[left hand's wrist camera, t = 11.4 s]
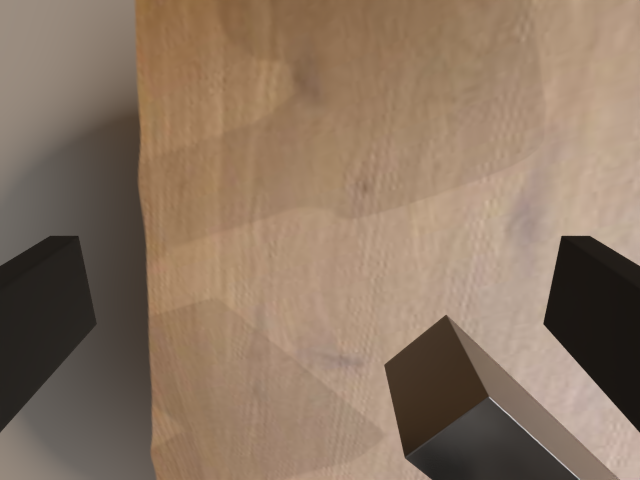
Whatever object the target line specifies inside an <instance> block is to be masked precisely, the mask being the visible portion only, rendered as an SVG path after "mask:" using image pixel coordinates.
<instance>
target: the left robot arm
mask: <svg viewBox="0 0 640 480" xmlns="http://www.w3.org/2000/svg"><path fill="white" fill-rule="evenodd" d="M543 324H544V325H545V326H546V328H547V329H548V330H549V331H550V332H551V333H552V334H553V335H554V337H555V338H556V339H557V340H558V341H559V342H560V343H561V344H562V346H563V347H564V348H565V349H566V350H567V351H568V352H569V353H570V355H571V356H572V357H573V358H574V359H575V360H576V361H577V362H578V364H579V365H580V366H581V367H582V368H583V369H584V370H585V371H586V373H587V374H588V375H589V376H590V377H591V378H592V379H593V380H594V382H595V383H596V384H597V385H598V386H599V387H600V388H601V389H602V391H603V392H604V393H605V394H606V395H607V396H608V397H609V398H610V400H611V401H612V402H613V403H614V404H615V405H616V406H617V407H618V409H619V410H620V411H621V412H622V413H623V414H624V415H625V416H626V418H627V419H628V420H629V421H630V422H631V423H632V424H633V425H634V427H635V428H636V429H637V430H638V431H639V432H640V266H639V265H637V264H635V263H634V262H632V261H630V260H629V259H627V258H625V257H624V256H622V255H620V254H619V253H617V252H616V251H614V250H612V249H611V248H609V247H607V246H606V245H604V244H602V243H601V242H599V241H597V240H596V239H594V238H592V237H591V236H561V241H560V246H559V251H558V256H557V261H556V265H555V270H554V275H553V280H552V285H551V290H550V294H549V299H548V304H547V309H546V314H545V319H544V323H543ZM95 325H96V319H95V314H94V309H93V304H92V299H91V295H90V290H89V285H88V280H87V275H86V270H85V265H84V261H83V256H82V251H81V246H80V241H79V237H78V236H49V237H48V238H46V239H44V240H43V241H41V242H39V243H38V244H36V245H34V246H33V247H31V248H29V249H28V250H26V251H25V252H23V253H21V254H20V255H18V256H16V257H15V258H13V259H11V260H10V261H8V262H6V263H5V264H3V265H1V266H0V432H1V431H2V430H3V429H4V428H5V426H6V425H7V424H8V423H9V422H10V421H11V420H12V419H13V418H14V416H15V415H16V414H17V413H18V412H19V411H20V410H21V408H22V407H23V406H24V405H25V404H26V403H27V402H28V401H29V400H30V398H31V397H32V396H33V395H34V394H35V393H36V392H37V391H38V389H39V388H40V387H41V386H42V385H43V384H44V383H45V382H46V380H47V379H48V378H49V377H50V376H51V375H52V374H53V372H54V371H55V370H56V369H57V368H58V367H59V366H60V365H61V363H62V362H63V361H64V360H65V359H66V358H67V357H68V356H69V354H70V353H71V352H72V351H73V350H74V349H75V348H76V347H77V345H78V344H79V343H80V342H81V341H82V340H83V339H84V338H85V336H86V335H87V334H88V333H89V332H90V331H91V330H92V329H93V327H94V326H95Z"/></svg>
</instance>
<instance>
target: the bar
mask: <svg viewBox="0 0 640 480" xmlns="http://www.w3.org/2000/svg"><path fill="white" fill-rule="evenodd" d="M384 366H385V371H386V375H387V380H388V384H389V389H390V393H391V398H392V402H393V407H394V411H395V416H396V420H397V425H398V429H399V434H400V438H401V443H402V447H403V452H404V456H405V459H407V460H408V461H409V462H410V463H412V464H413V465H414V466H416V467H417V468H418V469H419V470H421V471H422V472H423V473H424V474H426V475H427V476H428V477H429V478H431V479H432V480H619V479H618V478H617V477H616V476H615V475H614V474H613V473H612V472H611V471H610V470H609V469H608V468H607V467H606V466H605V465H604V464H603V463H602V462H601V461H600V460H598V459H597V458H596V457H595V456H594V455H593V454H592V453H591V452H590V451H589V450H588V449H587V448H586V447H585V446H584V445H583V444H582V443H581V442H580V441H578V440H577V439H576V438H575V437H574V436H573V435H572V434H571V433H570V432H569V431H568V430H567V429H566V428H565V427H564V426H563V425H562V424H561V423H560V422H559V421H557V420H556V419H555V418H554V417H553V416H552V415H551V414H550V413H549V412H548V411H547V410H546V409H545V408H544V407H543V406H542V405H541V404H540V403H539V402H538V401H536V400H535V399H534V398H533V397H532V396H531V395H530V394H529V393H528V392H527V391H526V390H525V389H524V388H523V387H522V386H521V385H520V384H519V383H518V382H517V381H515V380H514V379H513V378H512V377H511V376H510V375H509V374H508V373H507V372H506V371H505V370H504V369H503V368H502V367H501V366H500V365H499V364H498V363H497V362H496V361H494V360H493V359H492V358H491V357H490V356H489V355H488V354H487V353H486V352H485V351H484V350H483V349H482V348H481V347H480V346H479V345H478V344H477V343H476V342H475V341H473V340H472V339H471V338H470V337H469V336H468V335H467V334H466V333H465V332H464V331H463V330H462V329H461V328H460V327H459V326H458V325H457V324H456V323H455V322H454V321H452V320H451V319H450V318H449V317H448V316H447V315H445V316H444V317H443V318H441V319H440V320H439V321H438V322H437V323H435V324H434V325H433V326H432V327H430V328H429V329H428V330H427V331H425V332H424V333H423V334H422V335H420V336H419V337H418V338H417V339H416V340H414V341H413V342H412V343H411V344H409V345H408V346H407V347H406V348H404V349H403V350H402V351H401V352H399V353H398V354H397V355H396V356H395V357H393V358H392V359H391V360H390V361H388V362H387V363H386V364H385V365H384Z"/></svg>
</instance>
